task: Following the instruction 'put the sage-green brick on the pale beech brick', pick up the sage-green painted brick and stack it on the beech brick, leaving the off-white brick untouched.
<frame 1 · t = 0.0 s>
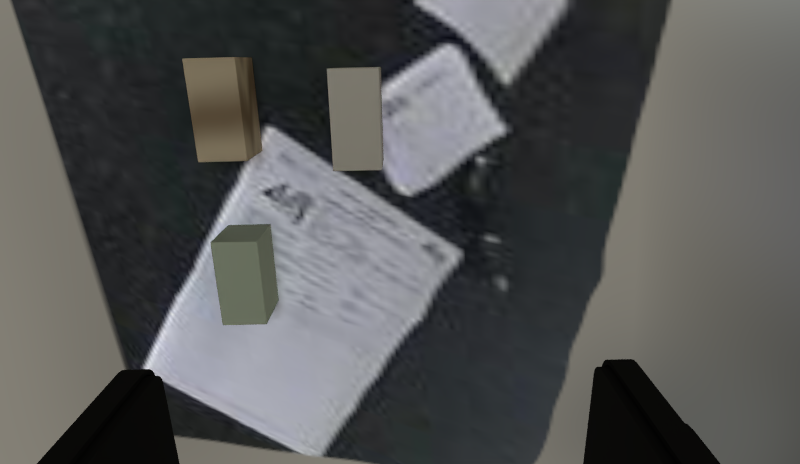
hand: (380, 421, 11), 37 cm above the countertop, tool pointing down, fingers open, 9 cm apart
beech brick: (235, 105, 45), on the countertop
sage brick: (254, 263, 49), on the countertop
offwhite brick: (359, 114, 45), on the countertop
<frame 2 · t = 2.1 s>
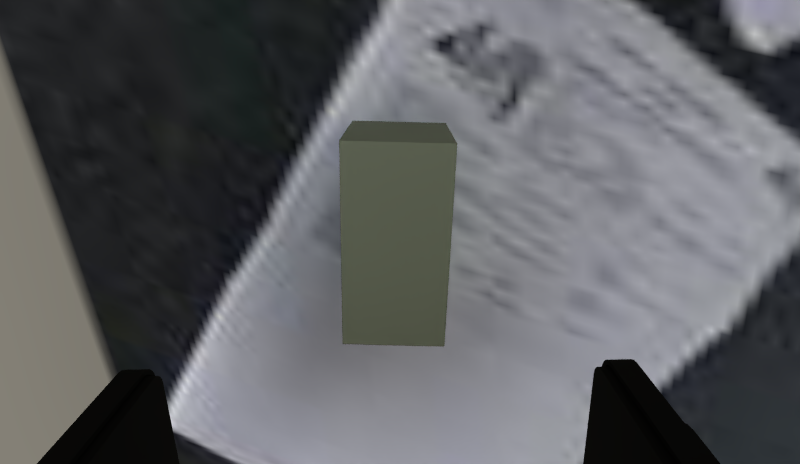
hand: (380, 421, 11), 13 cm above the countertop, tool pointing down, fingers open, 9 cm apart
sage brick: (397, 209, 23), on the countertop
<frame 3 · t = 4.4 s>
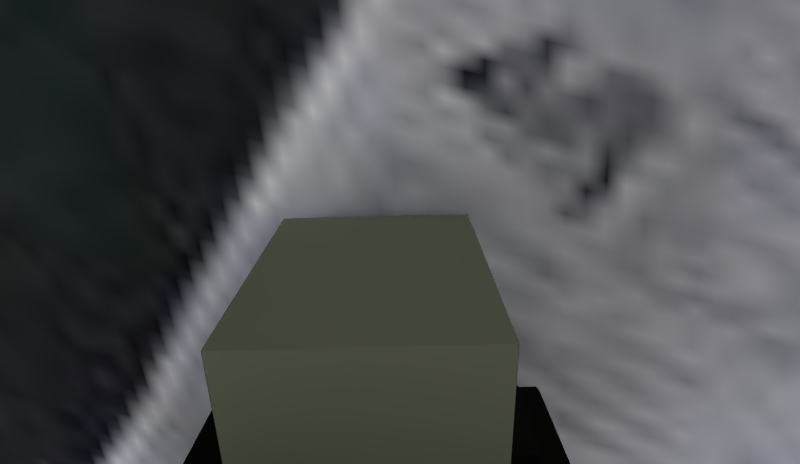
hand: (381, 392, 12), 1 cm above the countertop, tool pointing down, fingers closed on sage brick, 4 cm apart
sage brick: (382, 369, 12), on the countertop, touching gripper
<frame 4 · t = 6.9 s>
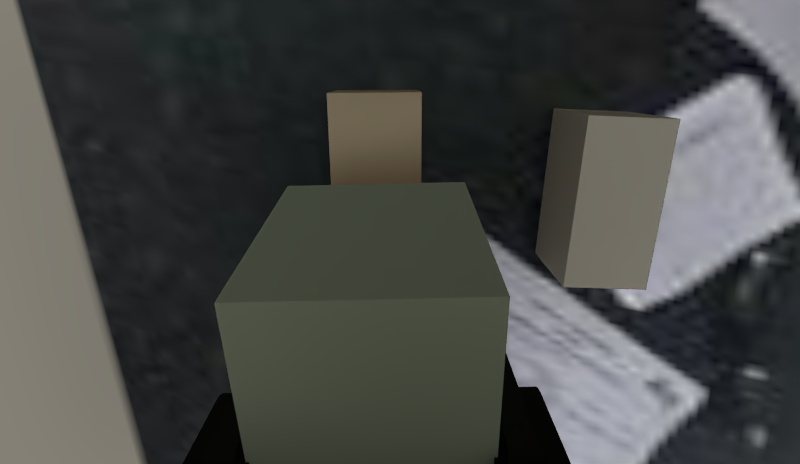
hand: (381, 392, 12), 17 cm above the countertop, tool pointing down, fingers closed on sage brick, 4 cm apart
beech brick: (378, 166, 27), on the countertop
sage brick: (382, 332, 13), point 15 cm above the countertop, tilted 7°, touching gripper
offwhite brick: (579, 184, 28), on the countertop
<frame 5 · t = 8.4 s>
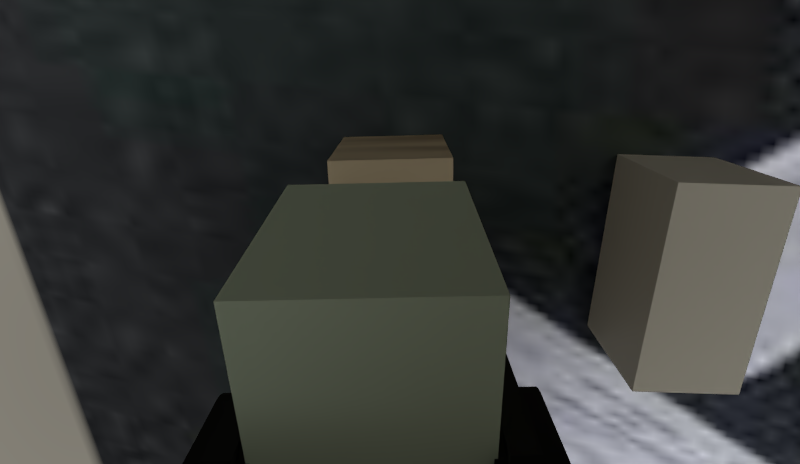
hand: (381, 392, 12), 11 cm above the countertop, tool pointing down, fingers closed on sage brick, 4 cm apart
beech brick: (395, 227, 22), on the countertop
sage brick: (382, 331, 13), point 9 cm above the countertop, touching gripper
offwhite brick: (645, 245, 22), on the countertop
when the fingers open (7 cm above the countertop, at t = 9.8 s): sage brick stays where it is, point 5 cm above the countertop.
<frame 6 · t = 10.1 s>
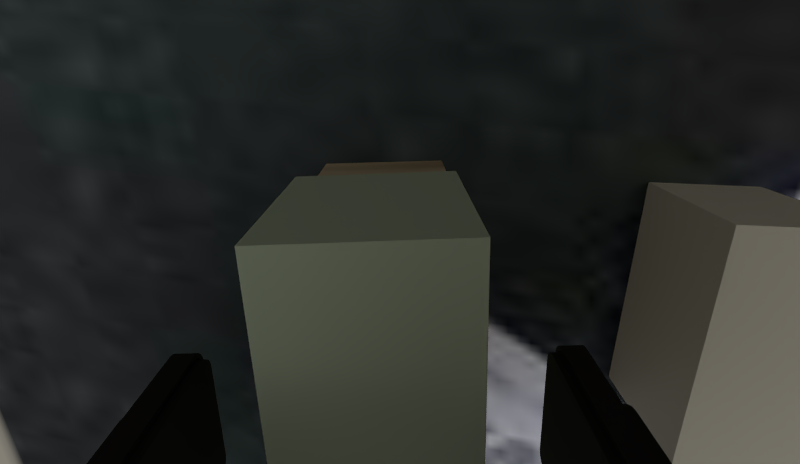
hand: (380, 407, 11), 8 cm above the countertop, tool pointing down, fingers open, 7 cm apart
beech brick: (387, 267, 19), on the countertop
sage brick: (383, 316, 14), point 5 cm above the countertop
offwhite brick: (678, 286, 19), on the countertop
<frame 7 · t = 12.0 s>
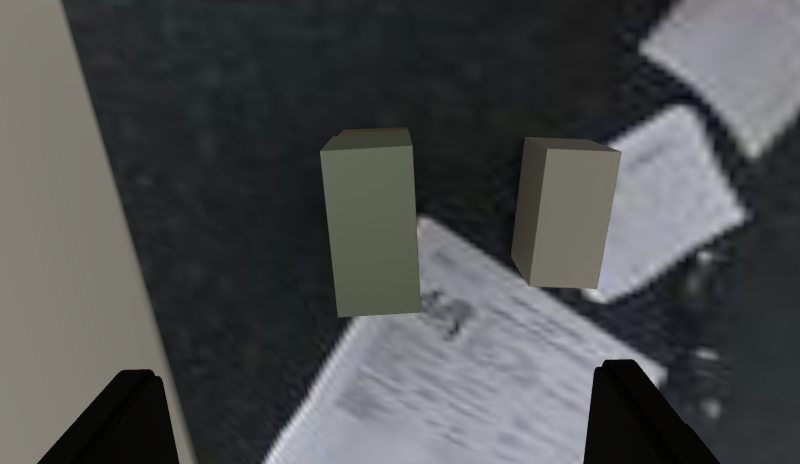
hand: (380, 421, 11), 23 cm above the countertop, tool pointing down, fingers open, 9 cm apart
beech brick: (378, 191, 33), on the countertop, touching sage brick
sage brick: (376, 207, 28), point 5 cm above the countertop, touching beech brick
offwhite brick: (547, 199, 33), on the countertop
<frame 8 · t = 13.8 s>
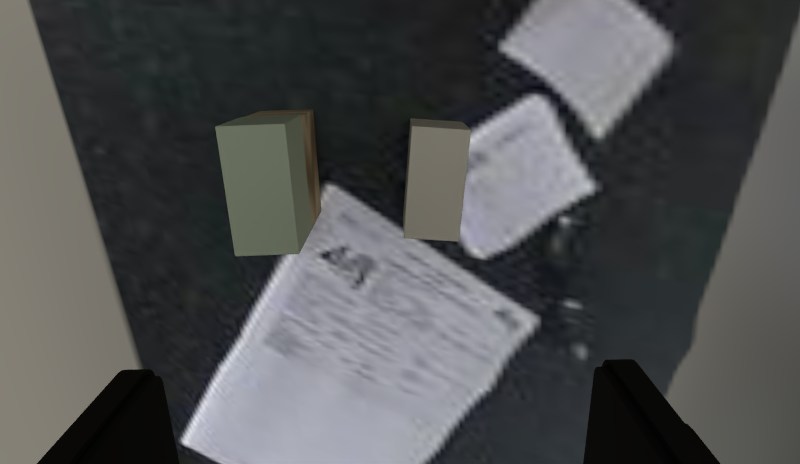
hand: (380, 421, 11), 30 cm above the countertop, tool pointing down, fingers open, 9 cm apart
beech brick: (292, 162, 40), on the countertop, touching sage brick
sage brick: (277, 174, 35), point 5 cm above the countertop, touching beech brick
offwhite brick: (431, 171, 40), on the countertop
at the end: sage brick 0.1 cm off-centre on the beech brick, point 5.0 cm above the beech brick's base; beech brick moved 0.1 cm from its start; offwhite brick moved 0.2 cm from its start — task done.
